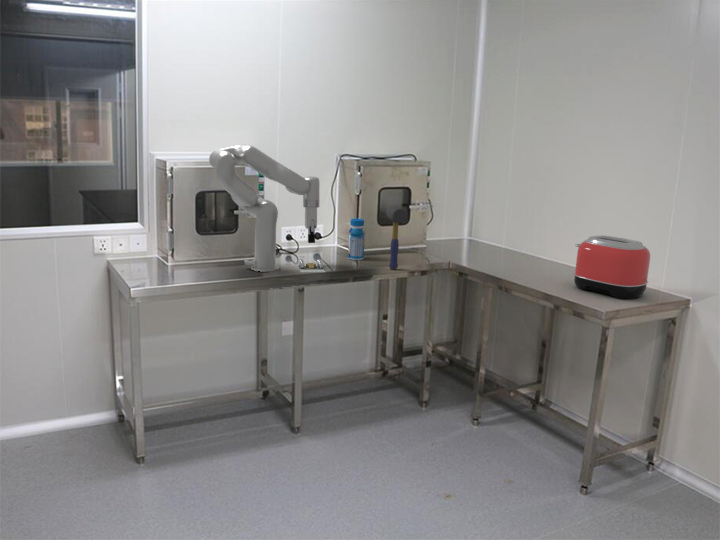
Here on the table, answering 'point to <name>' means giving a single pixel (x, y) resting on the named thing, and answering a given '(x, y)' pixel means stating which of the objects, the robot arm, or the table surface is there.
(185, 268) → the table surface
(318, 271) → the spacer board
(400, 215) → the rubber mallet
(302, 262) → the spacer rows
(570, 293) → the table surface
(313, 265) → the brass nut
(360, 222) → the beverage bottle
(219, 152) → the robot arm
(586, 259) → the toaster
